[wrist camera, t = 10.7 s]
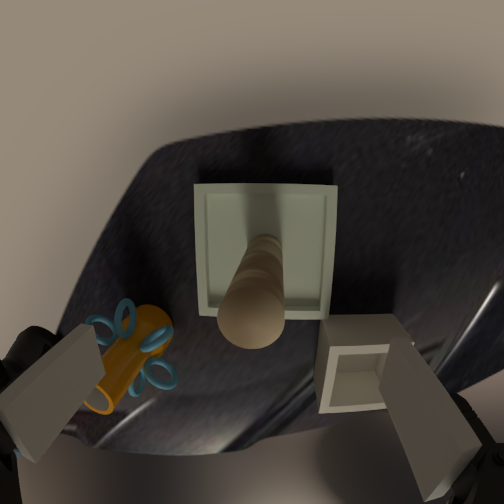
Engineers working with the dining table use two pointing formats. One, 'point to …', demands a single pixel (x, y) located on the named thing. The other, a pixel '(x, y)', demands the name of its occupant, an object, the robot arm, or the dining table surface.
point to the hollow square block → (353, 360)
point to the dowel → (255, 296)
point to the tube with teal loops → (131, 353)
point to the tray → (273, 223)
